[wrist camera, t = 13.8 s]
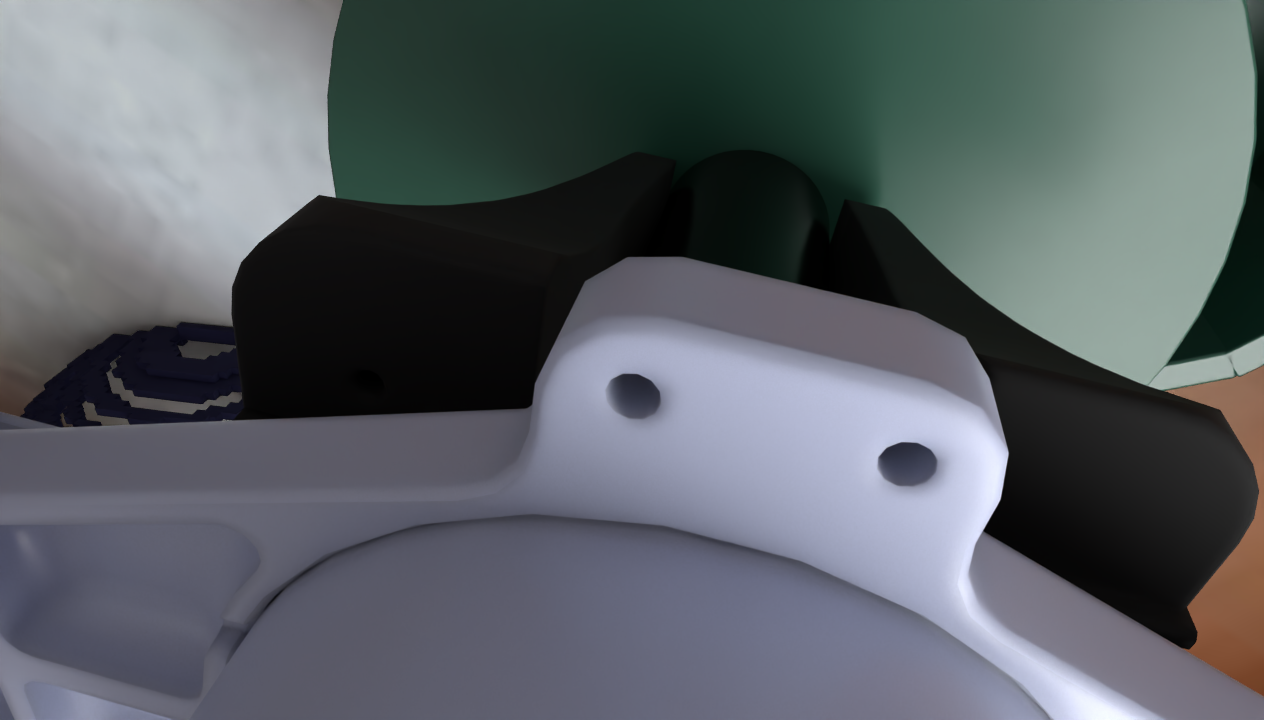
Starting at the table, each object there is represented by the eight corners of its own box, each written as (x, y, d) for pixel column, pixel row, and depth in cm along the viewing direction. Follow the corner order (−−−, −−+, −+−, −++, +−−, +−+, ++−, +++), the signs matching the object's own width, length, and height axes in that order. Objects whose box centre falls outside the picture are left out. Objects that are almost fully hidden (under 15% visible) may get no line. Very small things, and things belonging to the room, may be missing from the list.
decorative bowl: (501, 355, 28) (260, 775, 16) (540, 726, 39) (415, 1134, 27) (-33, 300, 31) (-558, 616, 19) (144, 657, 42) (-121, 995, 30)
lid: (1077, 549, 17) (1167, 829, 13) (419, 469, 19) (293, 681, 15) (1424, -348, 9) (1974, -464, 5) (269, -309, 12) (-89, -365, 7)
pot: (1254, 289, 22) (1374, 434, 17) (744, 248, 24) (722, 367, 19) (1552, -373, 15) (1904, -446, 10) (789, -351, 17) (772, -402, 12)
